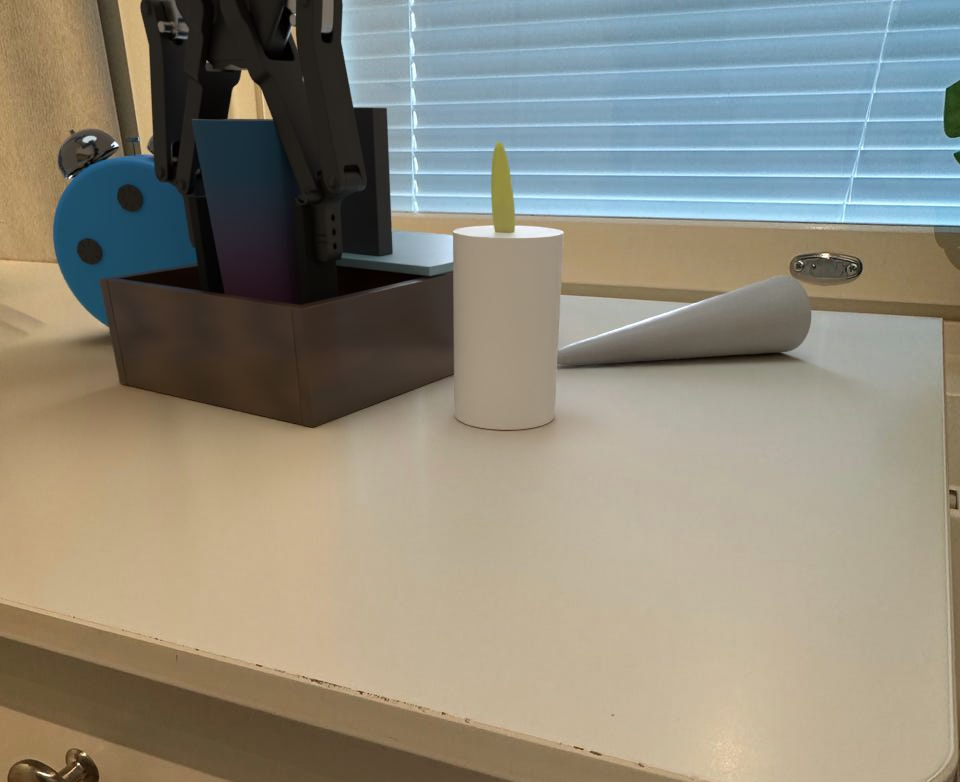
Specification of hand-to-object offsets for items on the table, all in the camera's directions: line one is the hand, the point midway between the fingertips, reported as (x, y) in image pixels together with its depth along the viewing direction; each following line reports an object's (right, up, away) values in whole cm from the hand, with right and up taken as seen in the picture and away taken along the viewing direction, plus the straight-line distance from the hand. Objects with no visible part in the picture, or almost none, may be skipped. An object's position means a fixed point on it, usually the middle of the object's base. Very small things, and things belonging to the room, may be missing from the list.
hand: (269, 307), depth 59 cm
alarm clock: (-12, +3, +15) cm, 19 cm away
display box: (+4, -1, +8) cm, 10 cm away
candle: (+16, -8, -3) cm, 18 cm away
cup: (0, -4, +2) cm, 4 cm away
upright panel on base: (+7, +8, +9) cm, 14 cm away
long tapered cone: (+29, -1, +9) cm, 31 cm away
